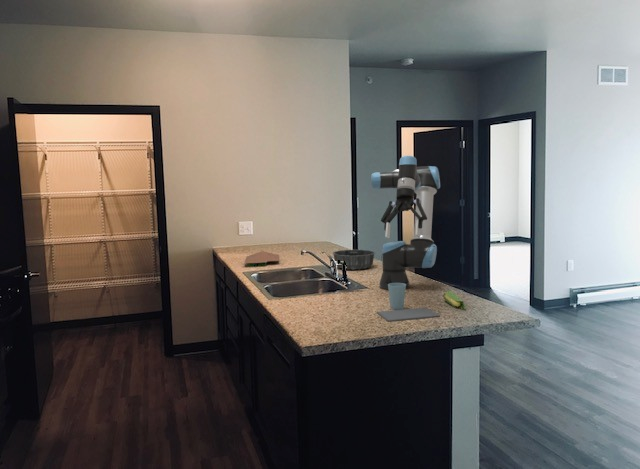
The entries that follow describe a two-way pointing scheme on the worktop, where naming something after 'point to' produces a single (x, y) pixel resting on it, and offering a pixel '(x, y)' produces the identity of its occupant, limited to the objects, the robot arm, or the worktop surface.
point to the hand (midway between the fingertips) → (402, 236)
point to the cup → (397, 295)
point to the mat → (407, 314)
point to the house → (261, 258)
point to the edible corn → (454, 300)
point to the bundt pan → (355, 258)
